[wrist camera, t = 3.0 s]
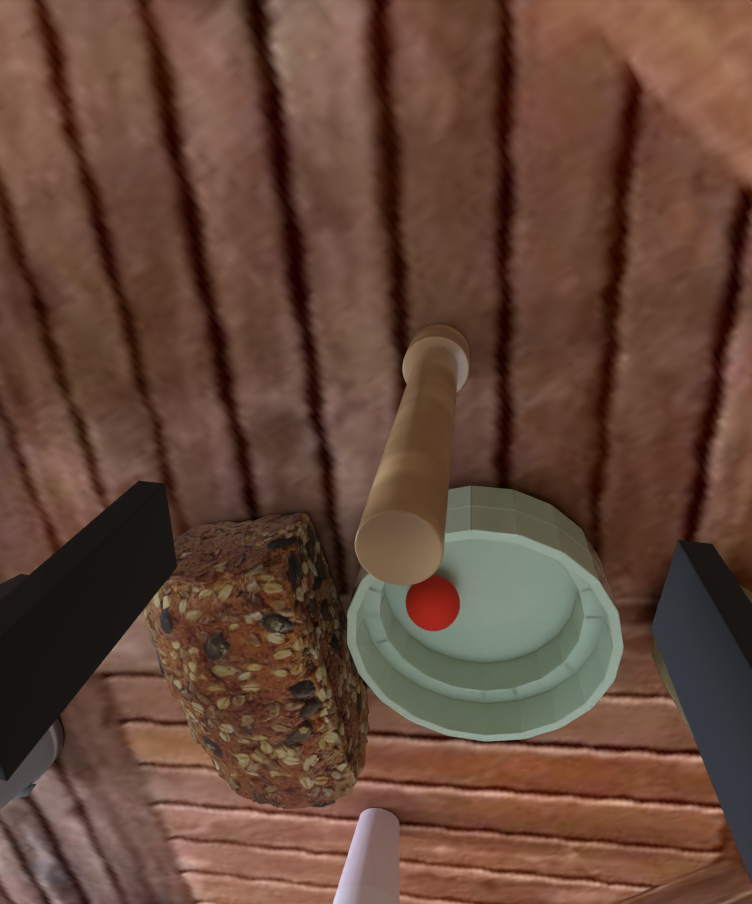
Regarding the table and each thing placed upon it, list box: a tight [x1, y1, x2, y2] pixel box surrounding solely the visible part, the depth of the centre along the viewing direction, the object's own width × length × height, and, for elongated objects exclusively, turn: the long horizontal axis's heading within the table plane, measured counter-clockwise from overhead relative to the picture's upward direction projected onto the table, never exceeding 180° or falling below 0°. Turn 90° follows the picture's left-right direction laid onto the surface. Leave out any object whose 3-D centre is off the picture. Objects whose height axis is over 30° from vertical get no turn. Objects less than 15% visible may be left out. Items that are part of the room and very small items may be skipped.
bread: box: [144, 512, 370, 809], centre depth 39 cm, size 19×11×10 cm, turn 13°
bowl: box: [347, 486, 624, 742], centre depth 36 cm, size 16×16×6 cm
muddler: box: [355, 325, 470, 586], centre depth 24 cm, size 4×4×20 cm
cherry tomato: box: [406, 575, 460, 631], centre depth 37 cm, size 4×4×4 cm
